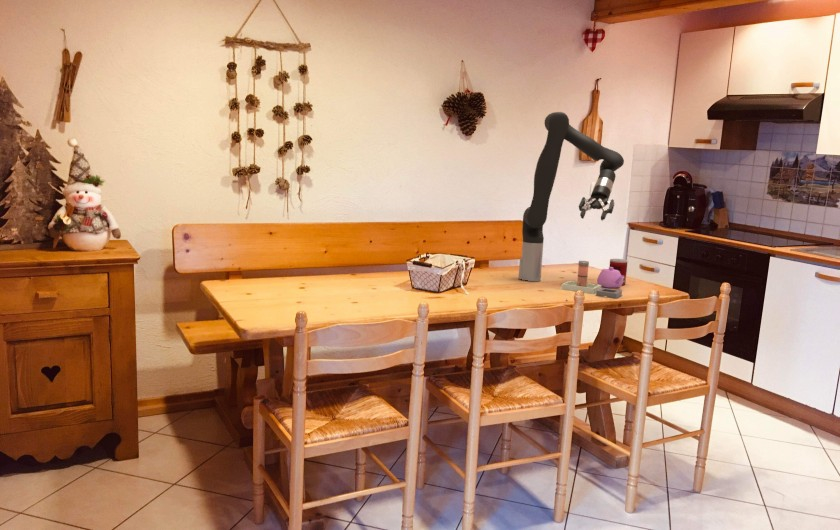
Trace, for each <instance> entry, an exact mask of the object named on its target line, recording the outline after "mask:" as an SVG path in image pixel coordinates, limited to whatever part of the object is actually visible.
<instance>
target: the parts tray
mask: <svg viewBox="0 0 840 530" xmlns="http://www.w3.org/2000/svg"><path fill="white" fill-rule="evenodd" d="M601 288H602V286H601V285H599V284H598V283H589V282H587V287H582V286H577V281H573V280H568V281H566V282H564V283H561V288H560V290H563V291H564V290H565V291H571V292H577V291H578V290H581V291H583V292H582V293H585V294H591V295H596V291H597V290H599V289H601Z"/></svg>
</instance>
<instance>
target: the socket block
mask: <svg viewBox="0 0 840 530" xmlns="http://www.w3.org/2000/svg"><path fill="white" fill-rule="evenodd" d="M594 296H595V297H601V298H603V299H604V298H605V299H613V300H614V299H615V300H617V299H619V298H621V297H623V290H620V289H614V288H607V287H601V289H599V290H597V291H596V293H595V294H594Z"/></svg>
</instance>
